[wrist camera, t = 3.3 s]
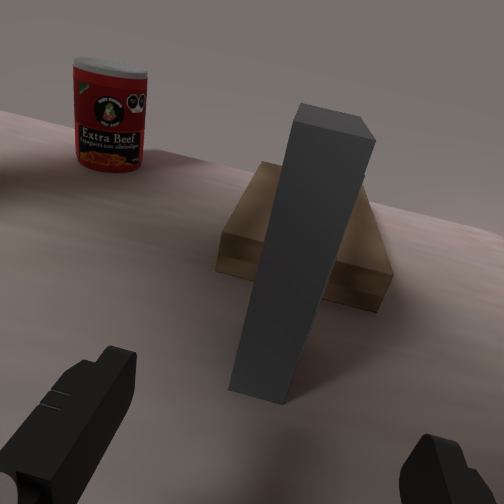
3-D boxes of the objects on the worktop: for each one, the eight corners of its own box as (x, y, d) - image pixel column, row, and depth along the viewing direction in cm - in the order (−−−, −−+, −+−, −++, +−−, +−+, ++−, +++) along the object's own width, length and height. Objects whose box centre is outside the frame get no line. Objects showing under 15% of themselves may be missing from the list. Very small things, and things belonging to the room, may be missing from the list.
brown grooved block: (215, 270, 30) (222, 231, 28) (256, 187, 49) (262, 161, 48) (376, 312, 29) (393, 275, 28) (354, 211, 49) (363, 185, 47)
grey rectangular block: (228, 389, 20) (293, 120, 13) (247, 320, 25) (300, 103, 19) (286, 405, 20) (381, 141, 13) (293, 333, 25) (364, 117, 19)
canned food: (71, 169, 42) (67, 61, 37) (80, 148, 49) (78, 54, 43) (142, 176, 45) (149, 76, 39) (142, 156, 51) (147, 67, 46)
